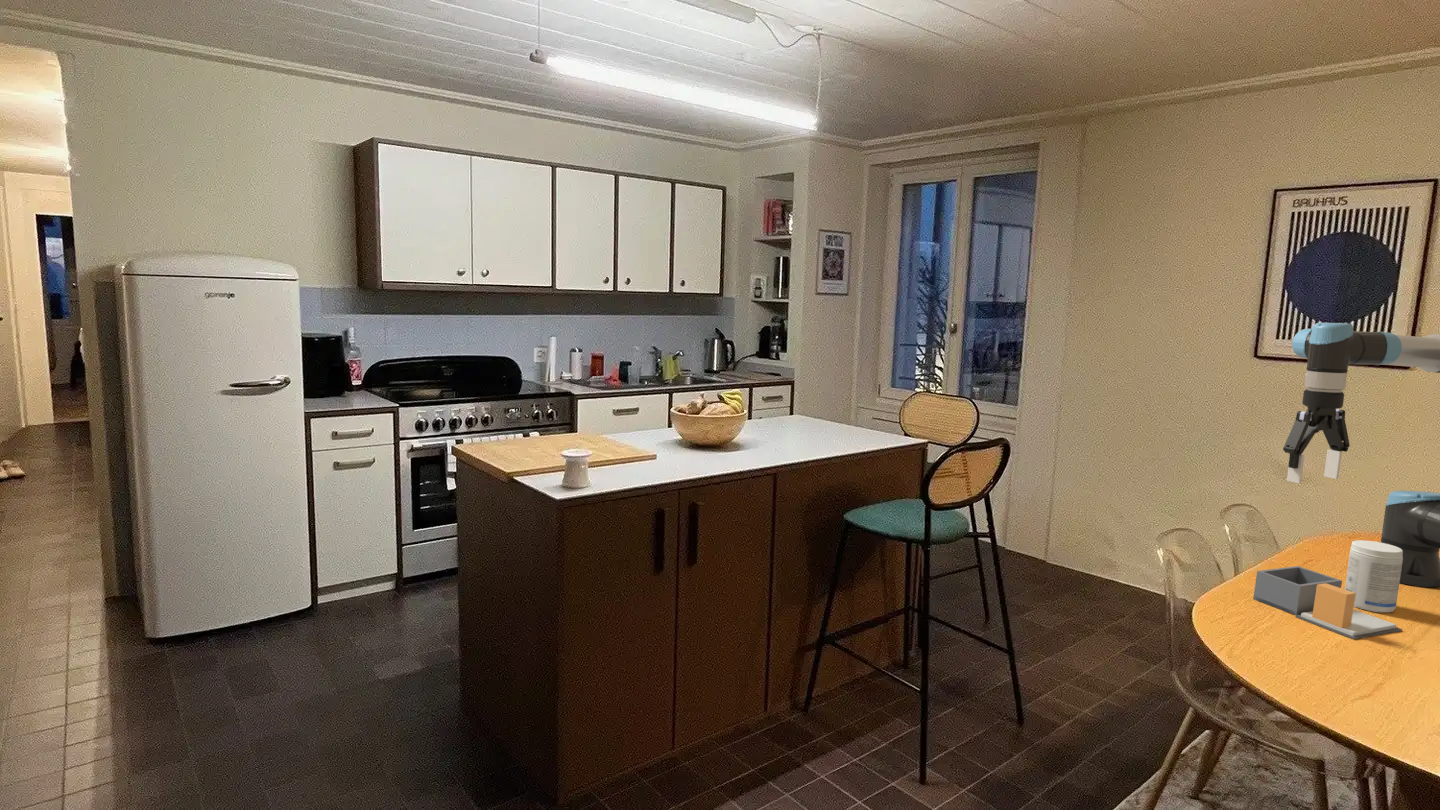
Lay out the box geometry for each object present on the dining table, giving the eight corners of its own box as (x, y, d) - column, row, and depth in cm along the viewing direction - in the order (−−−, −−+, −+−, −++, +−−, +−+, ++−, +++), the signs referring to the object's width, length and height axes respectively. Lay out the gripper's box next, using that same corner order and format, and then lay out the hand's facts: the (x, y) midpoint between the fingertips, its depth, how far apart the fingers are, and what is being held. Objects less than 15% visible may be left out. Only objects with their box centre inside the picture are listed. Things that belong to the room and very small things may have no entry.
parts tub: (1293, 593, 192) (1297, 565, 191) (1337, 609, 183) (1342, 580, 182) (1253, 599, 188) (1257, 570, 187) (1296, 615, 178) (1300, 586, 177)
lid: (1343, 609, 182) (1348, 574, 181) (1395, 628, 172) (1401, 591, 171) (1300, 616, 177) (1306, 580, 176) (1352, 636, 167) (1358, 598, 166)
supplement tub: (1401, 609, 185) (1411, 548, 183) (1386, 617, 179) (1396, 555, 177) (1351, 595, 193) (1360, 537, 191) (1335, 602, 187) (1344, 542, 185)
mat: (1342, 609, 183) (1343, 608, 183) (1402, 631, 172) (1402, 629, 172) (1295, 617, 177) (1295, 615, 177) (1353, 639, 166) (1353, 637, 166)
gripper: (1340, 386, 190) (1329, 472, 193) (1271, 389, 181) (1261, 480, 184) (1375, 390, 183) (1363, 479, 187) (1306, 393, 174) (1294, 487, 177)
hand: (1312, 479), depth 185 cm, fingers open, 13 cm apart
